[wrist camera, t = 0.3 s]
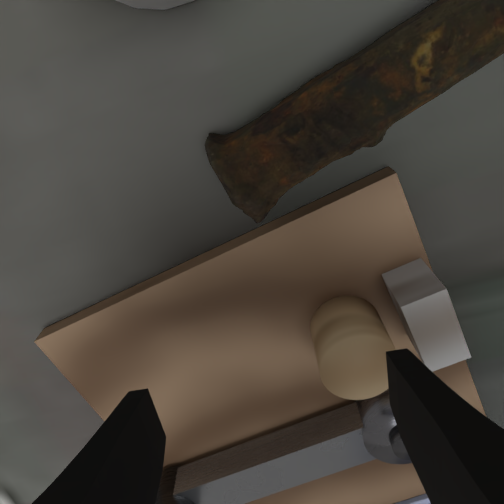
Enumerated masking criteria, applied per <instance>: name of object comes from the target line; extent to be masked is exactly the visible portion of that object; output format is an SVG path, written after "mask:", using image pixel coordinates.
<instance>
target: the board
mask: <svg viewBox="0 0 504 504" xmlns="http://www.w3.org/2000/svg"><path fill="white" fill-rule="evenodd" d="M340 296H356V297H360V298H363V299H365V300H367V301H368V302H370V303H371V304H372V305H373V306H374V307H375V308H376V310H377V312H378V314H379V316H380V318H381V320H382V322H383V324H384V326H385V328H386V330H387V332H388V334H389V336H390V338H391V340H392V342H393V344H394V346H395V348H396V350H399V349H406V348H407V349H409V350H410V351H411V352H412V353H413V354H414V355H415V356H416V357H417V358H418V359H419V360H420V361H421V362H422V363H423V364H425V365H426V366H427V367H428V368H429V369H430V370H431V371H432V372H433V373H434V374H435V375H436V376H437V377H439V378H440V379H441V380H442V381H443V382H444V383H445V384H446V385H448V386H449V387H450V388H451V389H452V390H453V391H455V392H456V393H457V394H458V395H459V396H461V397H462V398H463V399H464V400H465V401H467V402H468V403H469V404H470V405H472V406H473V407H474V408H475V409H477V410H478V411H479V412H481V413H482V414H483V415H485V412H484V409H483V406H482V404H481V401H480V398H479V396H478V393H477V390H476V387H475V385H474V382H473V379H472V377H471V374H470V371H469V368H468V366H467V363H466V359H468V358H471V355H470V352H469V349H468V347H467V344H466V341H465V338H464V336H463V333H462V330H461V327H460V324H459V322H458V319H457V316H456V313H455V311H454V308H453V305H452V302H451V299H450V297H449V294H448V291H447V289H446V287H445V286H444V285H443V284H442V283H441V281H440V280H439V279H438V278H437V277H436V275H435V274H434V273H433V271H432V268H431V265H430V263H429V260H428V257H427V255H426V252H425V249H424V246H423V244H422V241H421V238H420V236H419V233H418V230H417V227H416V225H415V222H414V219H413V217H412V214H411V211H410V208H409V206H408V203H407V200H406V198H405V195H404V192H403V189H402V187H401V184H400V181H399V179H398V176H397V173H396V172H395V171H394V170H392V169H391V168H390V167H389V166H388V167H386V168H384V169H382V170H380V171H377V172H375V173H373V174H371V175H369V176H367V177H365V178H363V179H360V180H358V181H356V182H354V183H352V184H350V185H348V186H346V187H343V188H341V189H339V190H337V191H335V192H333V193H331V194H329V195H326V196H324V197H322V198H320V199H318V200H316V201H314V202H312V203H309V204H307V205H305V206H303V207H301V208H299V209H297V210H295V211H292V212H290V213H288V214H286V215H284V216H282V217H280V218H278V219H275V220H273V221H271V222H269V223H267V224H265V225H263V226H261V227H258V228H256V229H254V230H252V231H250V232H248V233H246V234H244V235H241V236H239V237H237V238H235V239H233V240H231V241H229V242H227V243H224V244H222V245H220V246H218V247H216V248H214V249H212V250H210V251H207V252H205V253H203V254H201V255H199V256H197V257H195V258H193V259H190V260H188V261H186V262H184V263H182V264H180V265H178V266H176V267H173V268H171V269H169V270H167V271H165V272H163V273H161V274H159V275H156V276H154V277H152V278H150V279H148V280H146V281H144V282H142V283H139V284H137V285H135V286H133V287H131V288H129V289H127V290H125V291H122V292H120V293H118V294H116V295H114V296H112V297H110V298H108V299H105V300H103V301H101V302H99V303H97V304H95V305H93V306H91V307H88V308H86V309H84V310H82V311H80V312H78V313H76V314H74V315H71V316H69V317H67V318H65V319H63V320H61V321H59V322H57V323H54V324H52V325H50V326H48V327H46V328H44V329H43V331H42V332H41V333H40V335H39V336H38V337H37V339H36V340H35V341H34V342H35V343H36V344H37V345H38V346H39V348H40V349H41V350H42V351H43V352H44V353H45V354H46V355H47V357H48V358H49V359H50V360H51V361H52V362H53V363H54V365H55V366H56V367H57V368H58V369H59V370H60V371H61V373H62V374H63V375H64V376H65V377H66V378H67V379H68V381H69V382H70V383H71V384H72V385H73V386H74V387H75V388H76V390H77V391H78V392H79V393H80V394H81V395H82V396H83V398H84V399H85V400H86V401H87V402H88V403H89V404H90V406H91V407H92V408H93V409H94V410H95V411H96V412H97V414H98V415H99V416H100V417H101V418H102V419H103V420H104V421H106V419H107V418H108V417H109V415H110V414H111V413H112V412H113V410H114V409H115V408H116V407H117V405H118V404H119V403H120V401H121V400H122V399H123V398H124V396H125V395H126V394H127V393H128V392H129V391H134V390H141V389H147V388H148V390H149V393H150V395H151V398H152V401H153V403H154V406H155V408H156V411H157V414H158V416H159V419H160V422H161V424H162V427H163V430H164V432H165V435H166V445H165V455H164V464H163V470H165V469H167V468H169V467H174V466H184V465H186V464H189V463H192V462H194V461H197V460H200V459H203V458H205V457H208V456H211V455H213V454H216V453H219V452H222V451H224V450H227V449H230V448H232V447H235V446H238V445H241V444H243V443H246V442H249V441H251V440H254V439H257V438H260V437H262V436H265V435H268V434H270V433H273V432H276V431H279V430H281V429H284V428H287V427H289V426H292V425H295V424H298V423H300V422H303V421H306V420H308V419H311V418H314V417H317V416H319V415H322V414H325V413H327V412H330V411H333V410H336V409H338V408H341V407H344V406H346V405H349V404H352V403H354V402H355V400H349V399H344V398H341V397H338V396H336V395H334V394H333V393H331V392H330V391H329V390H328V389H327V388H326V387H325V386H324V384H323V382H322V380H321V377H320V372H319V368H318V363H317V358H316V354H315V349H314V345H313V340H312V335H311V330H310V325H311V320H312V317H313V315H314V313H315V312H316V311H317V309H318V308H319V307H320V306H321V305H323V304H324V303H325V302H327V301H329V300H331V299H333V298H336V297H340ZM485 416H486V415H485ZM425 493H426V492H425V490H424V487H423V485H422V483H421V481H420V479H419V477H418V474H417V472H416V470H415V468H414V466H413V464H412V463H409V464H390V463H386V462H383V461H380V460H378V459H375V460H372V461H369V462H366V463H363V464H360V465H357V466H354V467H351V468H348V469H345V470H342V471H339V472H336V473H333V474H330V475H328V476H325V477H322V478H319V479H316V480H313V481H310V482H307V483H304V484H301V485H298V486H295V487H292V488H289V489H286V490H283V491H280V492H277V493H274V494H271V495H268V496H266V497H263V498H260V499H257V500H254V501H251V502H248V503H245V504H393V503H396V502H400V501H403V500H406V499H409V498H412V497H415V496H419V495H422V494H425Z"/></svg>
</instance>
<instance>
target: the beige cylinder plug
mask: <svg viewBox="0 0 504 504" xmlns="http://www.w3.org/2000/svg"><path fill="white" fill-rule="evenodd" d="M310 330H311V335H312V340H313V345H314V349H315V354H316V358H317V363H318V368H319V372H320V377H321V380H322V382H323V384H324V386H325V387H326V388H327V389H328V390H329V391H330V392H331V393H333V394H334V395H336V396H338V397H341V398H344V399H349V400H363V399H368V398H372V397H375V396H377V395H379V394H381V393H383V392H384V391H386V390H387V389H388V388H389V387H388V374H387V362H386V351H393V350H396V348H395V346H394V344H393V342H392V340H391V338H390V336H389V334H388V332H387V330H386V328H385V326H384V324H383V322H382V320H381V318H380V316H379V314H378V312H377V310H376V308H375V307H374V306H373V305H372V304H371V303H370V302H368V301H367V300H365V299H363V298H360V297H356V296H340V297H336V298H333V299H331V300H329V301H327V302H325V303H324V304H323V305H321V306H320V307H319V308H318V309H317V311H316V312H315V313H314V315H313V317H312V320H311V325H310Z"/></svg>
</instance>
